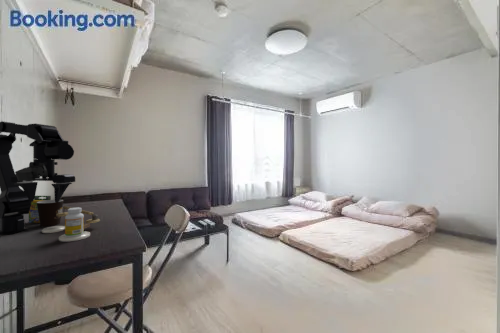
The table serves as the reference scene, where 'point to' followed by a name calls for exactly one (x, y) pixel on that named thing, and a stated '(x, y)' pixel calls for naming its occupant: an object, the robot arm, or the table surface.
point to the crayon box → (36, 209)
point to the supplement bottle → (74, 222)
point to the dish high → (53, 229)
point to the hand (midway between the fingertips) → (44, 201)
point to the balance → (94, 217)
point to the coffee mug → (49, 212)
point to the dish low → (68, 239)
